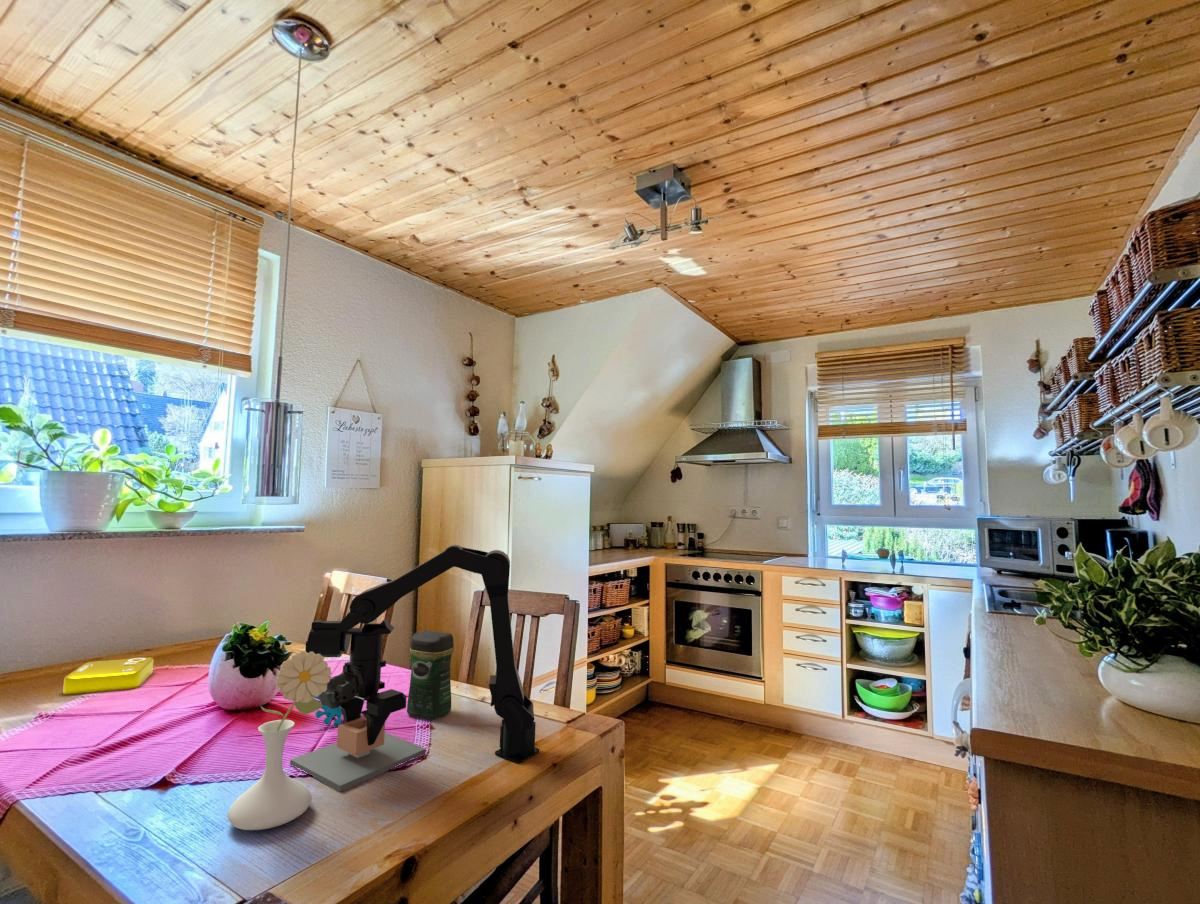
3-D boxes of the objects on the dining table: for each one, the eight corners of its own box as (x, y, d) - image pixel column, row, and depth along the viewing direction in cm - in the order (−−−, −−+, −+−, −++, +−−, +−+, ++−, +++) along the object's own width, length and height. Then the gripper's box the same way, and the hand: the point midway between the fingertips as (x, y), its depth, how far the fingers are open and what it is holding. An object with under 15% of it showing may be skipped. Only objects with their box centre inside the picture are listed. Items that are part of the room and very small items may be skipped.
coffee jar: (456, 711, 134) (460, 630, 135) (435, 723, 127) (439, 637, 128) (423, 704, 137) (427, 626, 139) (400, 716, 130) (404, 632, 132)
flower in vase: (218, 846, 81) (233, 666, 83) (234, 805, 92) (246, 646, 94) (320, 827, 86) (331, 658, 88) (324, 791, 97) (333, 640, 99)
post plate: (425, 754, 112) (427, 727, 112) (339, 791, 97) (341, 761, 97) (375, 733, 120) (377, 708, 121) (289, 765, 106) (291, 737, 106)
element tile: (84, 678, 150) (86, 660, 151) (154, 672, 157) (155, 654, 157) (59, 697, 137) (61, 676, 137) (136, 690, 143) (138, 670, 143)
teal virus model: (315, 724, 120) (312, 680, 126) (305, 739, 122) (303, 695, 129) (367, 719, 127) (363, 678, 134) (357, 733, 130) (353, 692, 136)
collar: (384, 744, 109) (385, 723, 110) (355, 755, 105) (356, 733, 105) (365, 736, 113) (366, 715, 113) (336, 747, 108) (338, 725, 108)
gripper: (298, 657, 109) (292, 742, 107) (356, 676, 98) (350, 770, 97) (352, 645, 118) (347, 723, 117) (410, 661, 107) (405, 747, 106)
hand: (360, 740), depth 109 cm, fingers closed on collar, 6 cm apart
